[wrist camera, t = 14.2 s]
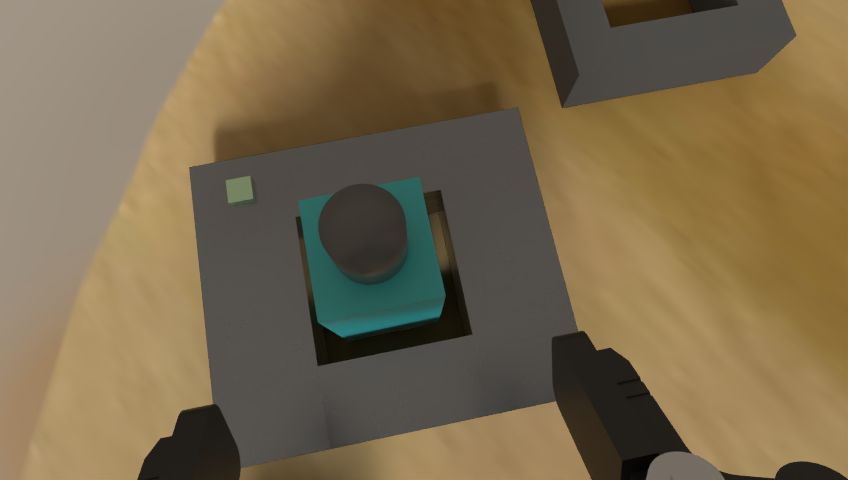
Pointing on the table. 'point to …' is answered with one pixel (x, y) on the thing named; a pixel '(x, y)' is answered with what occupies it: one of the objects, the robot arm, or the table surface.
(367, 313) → the plug
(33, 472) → the table surface
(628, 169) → the table surface
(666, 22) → the holster
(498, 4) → the table surface
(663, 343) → the table surface
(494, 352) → the port block
